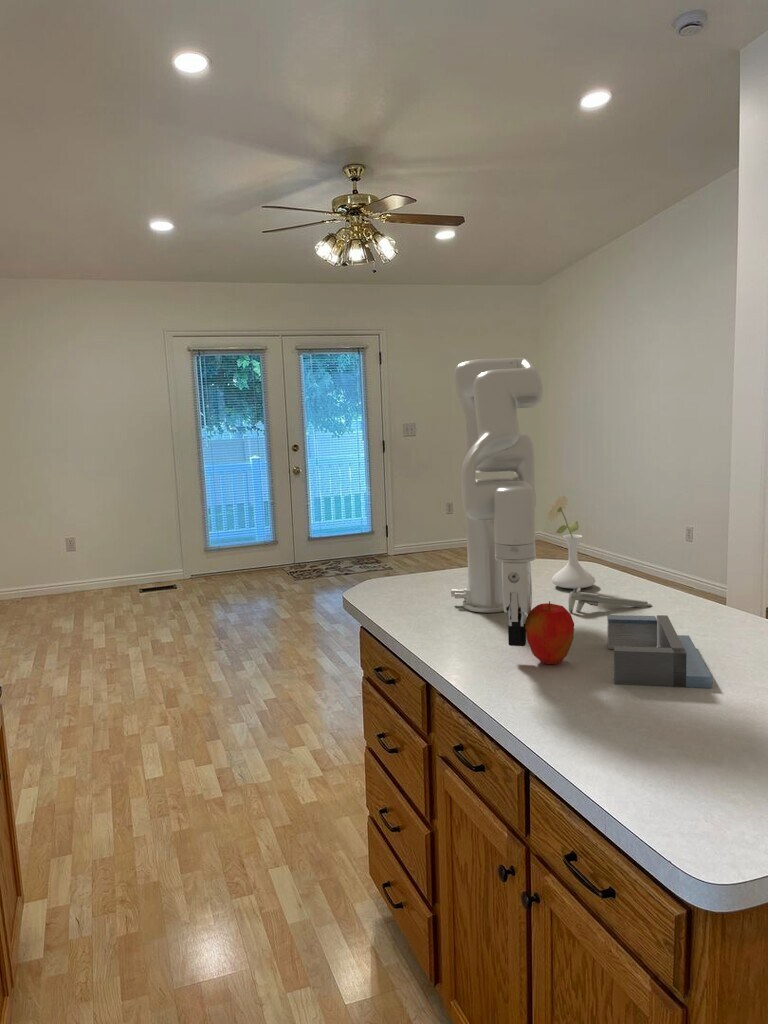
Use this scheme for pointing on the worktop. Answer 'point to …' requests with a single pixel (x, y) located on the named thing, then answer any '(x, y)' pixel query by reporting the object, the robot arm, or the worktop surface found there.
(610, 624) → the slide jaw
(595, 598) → the caliper
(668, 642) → the bracket
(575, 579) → the flower in vase
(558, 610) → the apple
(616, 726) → the worktop surface
